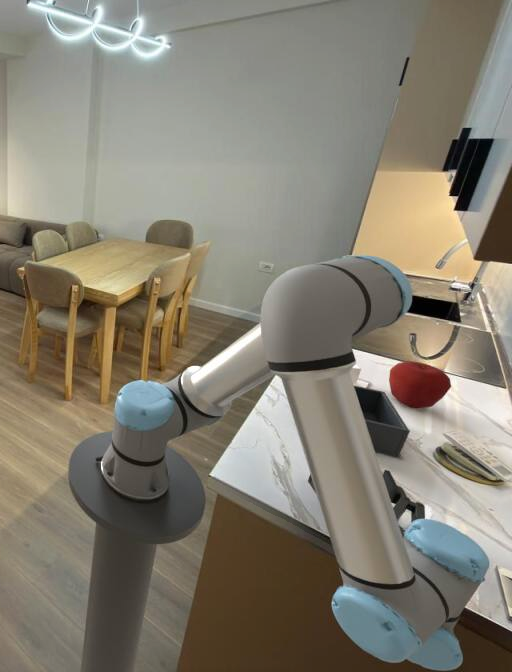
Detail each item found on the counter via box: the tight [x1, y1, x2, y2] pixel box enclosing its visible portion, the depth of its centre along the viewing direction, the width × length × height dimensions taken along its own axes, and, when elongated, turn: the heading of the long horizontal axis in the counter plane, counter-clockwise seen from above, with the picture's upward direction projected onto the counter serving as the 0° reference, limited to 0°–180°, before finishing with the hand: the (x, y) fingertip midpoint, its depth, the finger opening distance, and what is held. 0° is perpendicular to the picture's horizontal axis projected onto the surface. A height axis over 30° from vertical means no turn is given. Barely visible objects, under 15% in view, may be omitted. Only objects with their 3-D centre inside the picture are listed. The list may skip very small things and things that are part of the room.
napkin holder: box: [349, 364, 369, 388], centre depth 125 cm, size 15×11×6 cm
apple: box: [388, 360, 452, 410], centre depth 112 cm, size 12×12×13 cm
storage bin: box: [354, 386, 410, 458], centre depth 105 cm, size 18×18×8 cm
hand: (352, 466), depth 85 cm, fingers open, 10 cm apart
